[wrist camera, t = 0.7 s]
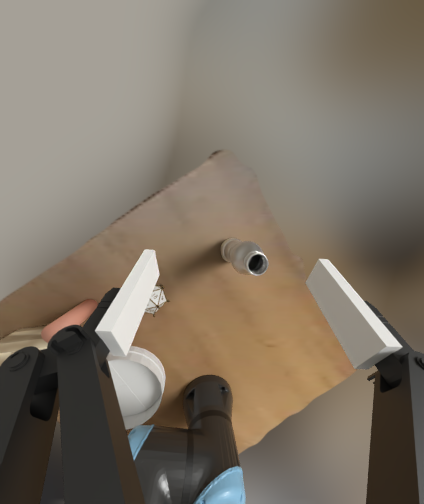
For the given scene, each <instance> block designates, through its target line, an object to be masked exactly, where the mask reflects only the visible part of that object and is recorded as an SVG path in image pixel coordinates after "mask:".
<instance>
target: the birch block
mask: <svg viewBox="0 0 424 504" xmlns="http://www.w3.org/2000/svg"><path fill="white" fill-rule="evenodd" d="M44 327H46V326H39V327H31V328H23V329H18V330H17V331H15V332H13V333H11V334H10V335H8V336H6V337H5V338H3V339H1V340H0V366H1V364H2V363H3V362H4V361H5V360H6V359H7V358H8V357H9V356H10V355H12V354H13V353H14V352H16V351H18V350H20V349H22V348H24V347H29V346H33V347H37V348H38V349H39V350H43V349H47V346H48V343H47V342H45V341H44V340H43V339H42V336H41V332H42V330H43V328H44Z"/></svg>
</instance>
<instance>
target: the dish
mask: <svg viewBox="0 0 424 504" xmlns="http://www.w3.org/2000/svg"><path fill="white" fill-rule="evenodd" d="M106 359H107V360H108V364H109V368H110V372H111V375H112V379H113V383H114V387H115V391H116V394H117V398H118V402H119V406H120V409H121V413H122V417H123V421H124V425H125V428H126V430H127V429H131V428H134V427H136V426H138V425H141V424H143V423H145V422H146V421H147V420H148V419H150V418H151V417H152V416H153V414H154V413H155V412H156V411H157V409H158V407H159V405H160V403H161V399H162V394H163V392H164V386H165V378H166V376H165V371H164V367H163V366H162V364H161V362H160V360H159V359H158V358H157V357H156V356H155V355H154V354H152V353H150V352H149V351H147V350H145V349H142V348H139V347H134V346H130V349H129V351H128V353H127V356H113V355H112V354H111V352H109V354H108V356H107V358H106Z"/></svg>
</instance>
